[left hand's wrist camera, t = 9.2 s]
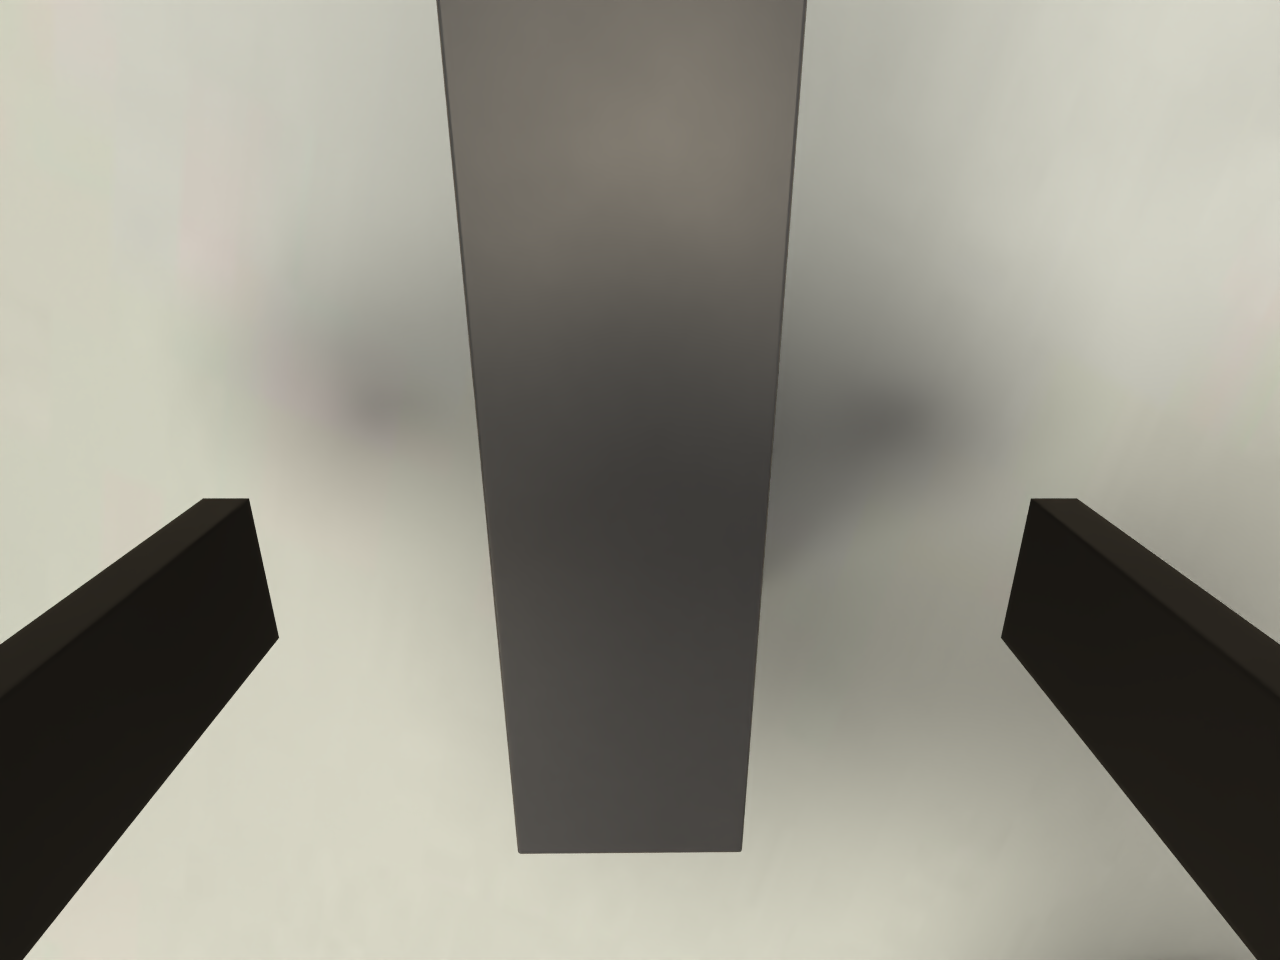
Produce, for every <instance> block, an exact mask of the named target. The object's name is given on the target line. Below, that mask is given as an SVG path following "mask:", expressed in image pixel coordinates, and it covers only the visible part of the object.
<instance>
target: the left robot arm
mask: <svg viewBox="0 0 1280 960" xmlns="http://www.w3.org/2000/svg"><path fill="white" fill-rule="evenodd" d="M278 638H279V636H278V631H277V626H276V622H275V617H274V612H273V608H272V603H271V599H270V594H269V589H268V585H267V580H266V575H265V571H264V566H263V562H262V557H261V552H260V548H259V543H258V538H257V534H256V529H255V525H254V520H253V515H252V511H251V506H250V501H249V499H202V500H200V501H199V502H198V503H196V504H195V505H194V506H192V507H191V508H189V509H188V510H187V511H185V512H184V513H182V514H181V515H180V516H178V517H177V518H175V519H174V520H173V521H171V522H170V523H169V524H167V525H166V526H164V527H163V528H162V529H160V530H159V531H157V532H156V533H155V534H153V535H152V536H150V537H149V538H148V539H146V540H145V541H143V542H142V543H141V544H139V545H138V546H137V547H135V548H134V549H132V550H131V551H130V552H128V553H127V554H125V555H124V556H123V557H121V558H120V559H118V560H117V561H116V562H114V563H113V564H112V565H110V566H109V567H107V568H106V569H105V570H103V571H102V572H100V573H99V574H98V575H96V576H95V577H93V578H92V579H91V580H89V581H88V582H87V583H85V584H84V585H82V586H81V587H80V588H78V589H77V590H75V591H74V592H73V593H71V594H70V595H68V596H67V597H66V598H64V599H63V600H61V601H60V602H59V603H57V604H56V605H55V606H53V607H52V608H50V609H49V610H48V611H46V612H45V613H43V614H42V615H41V616H39V617H38V618H36V619H35V620H34V621H32V622H31V623H30V624H28V625H27V626H25V627H24V628H23V629H21V630H20V631H18V632H17V633H16V634H14V635H13V636H11V637H10V638H9V639H7V640H6V641H5V642H3V643H2V644H0V960H23V959H24V958H25V956H26V955H27V954H28V953H29V951H30V950H31V949H32V947H33V946H34V945H35V944H36V942H37V941H38V940H39V939H40V937H41V936H42V935H43V934H44V932H45V931H46V930H47V929H48V927H49V926H50V925H51V924H52V922H53V921H54V920H55V919H56V917H57V916H58V915H59V914H60V912H61V911H62V910H63V909H64V907H65V906H66V905H67V904H68V902H69V901H70V900H71V898H72V897H73V896H74V895H75V893H76V892H77V891H78V890H79V888H80V887H81V886H82V885H83V883H84V882H85V881H86V880H87V878H88V877H89V876H90V875H91V873H92V872H93V871H94V870H95V868H96V867H97V866H98V865H99V863H100V862H101V861H102V860H103V858H104V857H105V856H106V855H107V853H108V852H109V851H110V850H111V848H112V847H113V846H114V844H115V843H116V842H117V841H118V839H119V838H120V837H121V836H122V834H123V833H124V832H125V831H126V829H127V828H128V827H129V826H130V824H131V823H132V822H133V821H134V819H135V818H136V817H137V816H138V814H139V813H140V812H141V811H142V809H143V808H144V807H145V806H146V804H147V803H148V802H149V801H150V799H151V798H152V797H153V795H154V794H155V793H156V792H157V790H158V789H159V788H160V787H161V785H162V784H163V783H164V782H165V780H166V779H167V778H168V777H169V775H170V774H171V773H172V772H173V770H174V769H175V768H176V767H177V765H178V764H179V763H180V762H181V760H182V759H183V758H184V757H185V755H186V754H187V753H188V752H189V750H190V749H191V748H192V746H193V745H194V744H195V743H196V741H197V740H198V739H199V738H200V736H201V735H202V734H203V733H204V731H205V730H206V729H207V728H208V726H209V725H210V724H211V723H212V721H213V720H214V719H215V718H216V716H217V715H218V714H219V713H220V711H221V710H222V709H223V708H224V706H225V705H226V704H227V703H228V701H229V700H230V699H231V697H232V696H233V695H234V694H235V692H236V691H237V690H238V689H239V687H240V686H241V685H242V684H243V682H244V681H245V680H246V679H247V677H248V676H249V675H250V674H251V672H252V671H253V670H254V669H255V667H256V666H257V665H258V664H259V662H260V661H261V660H262V659H263V657H264V656H265V655H266V654H267V652H268V651H269V650H270V648H271V647H272V646H273V645H274V643H275V642H276V641H277V640H278ZM1001 638H1002V640H1003V641H1004V642H1005V643H1006V645H1007V646H1008V647H1009V648H1010V650H1011V651H1012V652H1013V654H1014V655H1015V656H1016V657H1017V659H1018V660H1019V661H1020V662H1021V664H1022V665H1023V666H1024V667H1025V669H1026V670H1027V671H1028V672H1029V674H1030V675H1031V676H1032V677H1033V679H1034V680H1035V681H1036V682H1037V684H1038V685H1039V686H1040V687H1041V689H1042V690H1043V691H1044V692H1045V694H1046V695H1047V696H1048V697H1049V699H1050V700H1051V701H1052V703H1053V704H1054V705H1055V706H1056V708H1057V709H1058V710H1059V711H1060V713H1061V714H1062V715H1063V716H1064V718H1065V719H1066V720H1067V721H1068V723H1069V724H1070V725H1071V726H1072V728H1073V729H1074V730H1075V731H1076V733H1077V734H1078V735H1079V736H1080V738H1081V739H1082V740H1083V741H1084V743H1085V744H1086V745H1087V746H1088V748H1089V749H1090V750H1091V752H1092V753H1093V754H1094V755H1095V757H1096V758H1097V759H1098V760H1099V762H1100V763H1101V764H1102V765H1103V767H1104V768H1105V769H1106V770H1107V772H1108V773H1109V774H1110V775H1111V777H1112V778H1113V779H1114V780H1115V782H1116V783H1117V784H1118V785H1119V787H1120V788H1121V789H1122V790H1123V792H1124V793H1125V794H1126V795H1127V797H1128V798H1129V799H1130V801H1131V802H1132V803H1133V804H1134V806H1135V807H1136V808H1137V809H1138V811H1139V812H1140V813H1141V814H1142V816H1143V817H1144V818H1145V819H1146V821H1147V822H1148V823H1149V824H1150V826H1151V827H1152V828H1153V829H1154V831H1155V832H1156V833H1157V834H1158V836H1159V837H1160V838H1161V839H1162V841H1163V842H1164V843H1165V844H1166V846H1167V847H1168V848H1169V850H1170V851H1171V852H1172V853H1173V855H1174V856H1175V857H1176V858H1177V860H1178V861H1179V862H1180V863H1181V865H1182V866H1183V867H1184V868H1185V870H1186V871H1187V872H1188V873H1189V875H1190V876H1191V877H1192V878H1193V880H1194V881H1195V882H1196V883H1197V885H1198V886H1199V887H1200V888H1201V890H1202V891H1203V892H1204V893H1205V895H1206V896H1207V897H1208V899H1209V900H1210V901H1211V902H1212V904H1213V905H1214V906H1215V907H1216V909H1217V910H1218V911H1219V912H1220V914H1221V915H1222V916H1223V917H1224V919H1225V920H1226V921H1227V922H1228V924H1229V925H1230V926H1231V927H1232V929H1233V930H1234V931H1235V932H1236V934H1237V935H1238V936H1239V937H1240V939H1241V940H1242V941H1243V942H1244V944H1245V945H1246V946H1247V947H1248V949H1249V950H1250V951H1251V953H1252V954H1253V955H1254V956H1255V958H1256V959H1257V960H1280V644H1278V643H1277V642H1275V641H1274V640H1273V639H1271V638H1270V637H1269V636H1267V635H1266V634H1264V633H1263V632H1262V631H1260V630H1259V629H1257V628H1256V627H1255V626H1253V625H1252V624H1250V623H1249V622H1248V621H1246V620H1245V619H1244V618H1242V617H1241V616H1239V615H1238V614H1237V613H1235V612H1234V611H1232V610H1231V609H1230V608H1228V607H1227V606H1225V605H1224V604H1223V603H1221V602H1220V601H1219V600H1217V599H1216V598H1214V597H1213V596H1212V595H1210V594H1209V593H1207V592H1206V591H1205V590H1203V589H1202V588H1200V587H1199V586H1198V585H1196V584H1195V583H1193V582H1192V581H1191V580H1189V579H1188V578H1187V577H1185V576H1184V575H1182V574H1181V573H1180V572H1178V571H1177V570H1175V569H1174V568H1173V567H1171V566H1170V565H1168V564H1167V563H1166V562H1164V561H1163V560H1162V559H1160V558H1159V557H1157V556H1156V555H1155V554H1153V553H1152V552H1150V551H1149V550H1148V549H1146V548H1145V547H1143V546H1142V545H1141V544H1139V543H1138V542H1137V541H1135V540H1134V539H1132V538H1131V537H1130V536H1128V535H1127V534H1125V533H1124V532H1123V531H1121V530H1120V529H1118V528H1117V527H1116V526H1114V525H1113V524H1111V523H1110V522H1109V521H1107V520H1106V519H1105V518H1103V517H1102V516H1100V515H1099V514H1098V513H1096V512H1095V511H1093V510H1092V509H1091V508H1089V507H1088V506H1086V505H1085V504H1084V503H1082V502H1081V501H1080V500H1078V499H1031V501H1030V506H1029V511H1028V515H1027V520H1026V525H1025V529H1024V534H1023V538H1022V543H1021V548H1020V552H1019V557H1018V562H1017V566H1016V571H1015V575H1014V580H1013V585H1012V589H1011V594H1010V599H1009V603H1008V608H1007V612H1006V617H1005V622H1004V626H1003V631H1002V636H1001Z"/></svg>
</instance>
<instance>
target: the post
mask: <svg viewBox="0 0 1280 960" xmlns="http://www.w3.org/2000/svg"><path fill="white" fill-rule="evenodd" d="M436 1H437V12H438V22H439V33H440V43H441V54H442V64H443V74H444V85H445V95H446V106H447V116H448V127H449V137H450V147H451V158H452V168H453V179H454V189H455V200H456V210H457V220H458V231H459V241H460V252H461V262H462V273H463V283H464V293H465V304H466V314H467V325H468V335H469V346H470V356H471V366H472V377H473V387H474V398H475V408H476V418H477V429H478V439H479V450H480V460H481V471H482V481H483V491H484V502H485V512H486V523H487V533H488V544H489V554H490V564H491V575H492V585H493V596H494V606H495V617H496V627H497V637H498V648H499V658H500V669H501V679H502V690H503V700H504V710H505V721H506V731H507V742H508V752H509V763H510V773H511V783H512V794H513V804H514V815H515V825H516V836H517V846H518V852H519V853H520V854H542V853H665V852H740V851H741V850H742V841H743V828H744V815H745V802H746V789H747V776H748V763H749V750H750V737H751V724H752V711H753V698H754V685H755V672H756V659H757V646H758V633H759V620H760V607H761V594H762V581H763V568H764V555H765V542H766V529H767V516H768V503H769V490H770V477H771V464H772V451H773V438H774V425H775V412H776V398H777V385H778V372H779V359H780V346H781V333H782V320H783V307H784V294H785V281H786V268H787V255H788V242H789V229H790V216H791V203H792V190H793V177H794V164H795V151H796V138H797V125H798V112H799V99H800V86H801V73H802V60H803V47H804V34H805V21H806V8H807V0H436Z"/></svg>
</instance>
